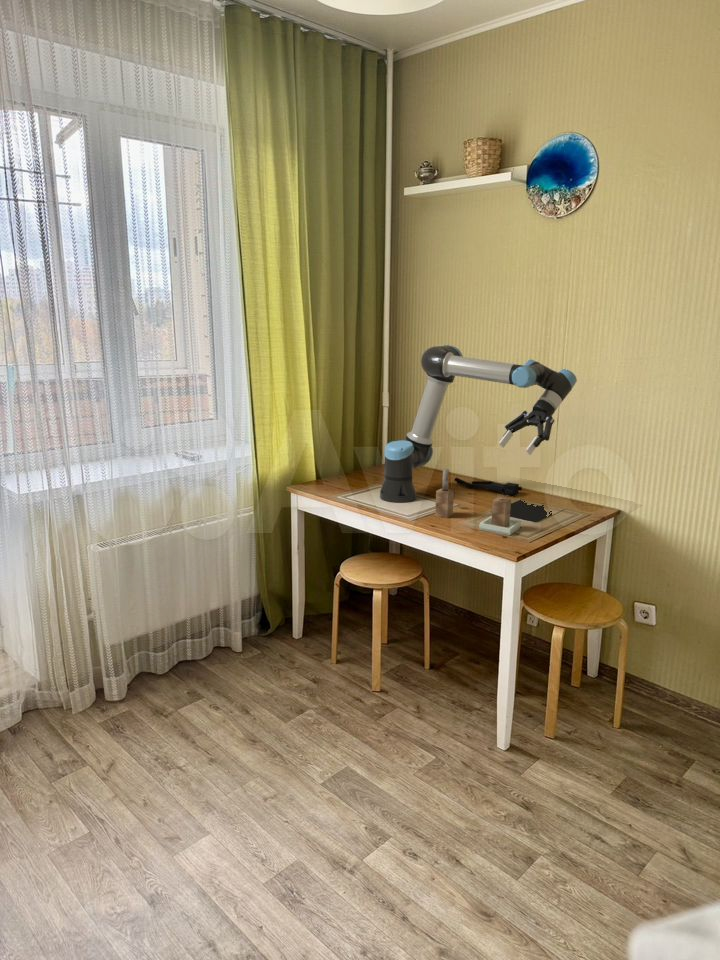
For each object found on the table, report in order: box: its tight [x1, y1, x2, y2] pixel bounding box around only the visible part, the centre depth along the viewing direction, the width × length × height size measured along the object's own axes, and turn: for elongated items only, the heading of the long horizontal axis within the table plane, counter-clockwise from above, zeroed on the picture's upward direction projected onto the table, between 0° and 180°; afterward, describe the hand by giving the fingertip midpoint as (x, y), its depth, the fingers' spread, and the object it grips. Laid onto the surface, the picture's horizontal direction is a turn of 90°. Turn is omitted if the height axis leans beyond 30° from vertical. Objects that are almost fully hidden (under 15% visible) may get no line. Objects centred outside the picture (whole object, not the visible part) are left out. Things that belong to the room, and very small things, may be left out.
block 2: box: [491, 496, 512, 528], centre depth 251 cm, size 5×5×10 cm
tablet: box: [490, 499, 553, 524], centre depth 275 cm, size 27×1×20 cm
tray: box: [478, 515, 522, 536], centre depth 252 cm, size 12×12×2 cm
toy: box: [454, 477, 523, 498], centre depth 306 cm, size 10×5×30 cm
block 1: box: [434, 468, 455, 519], centre depth 265 cm, size 5×5×18 cm
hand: (514, 449), depth 252 cm, fingers open, 13 cm apart
